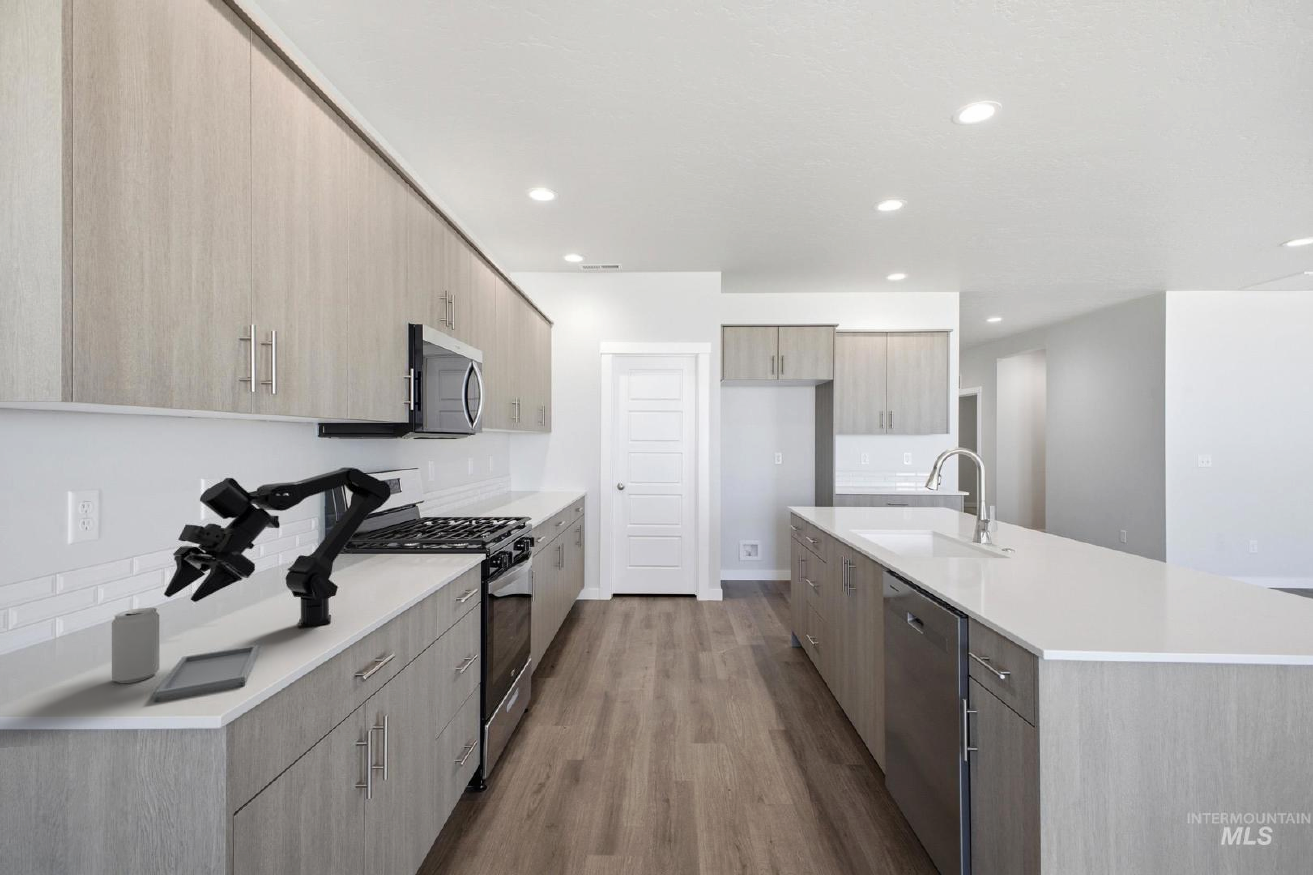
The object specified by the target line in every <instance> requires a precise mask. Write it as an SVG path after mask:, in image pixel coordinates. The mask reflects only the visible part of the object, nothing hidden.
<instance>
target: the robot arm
mask: <svg viewBox="0 0 1313 875" xmlns="http://www.w3.org/2000/svg"><path fill="white" fill-rule="evenodd" d="M341 487H345V488H346V489H347V490H348V491H349V492H350V493H352V494H351V497H350V504H349V506H348V508H347V509H346V510H345V512H344V513H343V514H342V515H341V517H340V518H339V519H338V521H337V522H336V523H335V524H334V525H333V527H332V529H331V530H330V531H329V532H328V534H327V535H326V536H325V537H324V539H322V541H321V543H320V544H319V545H318V547H317V548H316V549H315V550H314V551H313V552H312V553H311V554H309V555H299V556H297V557H296V559H295V561H294V563H293V564H292V565H291V566H290V567H288V568H287V569H286V570H287V571H288V573H286V575H285V584H286V587H287V588H288V590H290V592H291V594H292V596H293V598H294V597H295V598H300V619H299V621H298V622H297V623H298V624H297V628H298V629H301V628H307V627H315V626H321V625H322V626H323V625H329V624H331V623H332V615H331V614H330V603H329V602H330V598H331V597H335V596H336V595H337V592H338V589H339V587H338V585H337V584H336V583H334V582H333V581H332V580H330V578H331V575H332V574H333V573H332V572H333V566H334V562H335V560H336V559H337V558H338V556H340V554H341V552H342V551H343V549H345V547H346V545H347V544H348V543H349V541H350V540H351V539H352V537H353V536H354V534H355V533H356V532H357V530H358V529H359V528H360V526H361V525H362V524H363V523H364V521H365V519H366V518H367V517H368V516H369V515H370V514H372V513H373V512H375V511H376V510H378V509H379V508H381V507H382V506H383V505H384V504H386V502H387V501H389V499H390V498H391V495H392V492H391V487H390V484H389V483H388V482H386V481H385V480H380V479H378V478H377V477H374V476H372V475H369V474H367V473H365V472H363V471H362V470H360V469H359V468H357V467H351V466H350V467H346V466H345V467H341V468H339V469H336V470H332V471H330V472H326V473H325V472H324V473H322V474H319V475H314V476H311V477H308V478H305V479H302V480H301V479H300V480H297V481H291V482H277V483H269V484H268V483H267V484H263V485H260V486H259V487H257V488H256V490H253V491H247V489H245V488H244V487H242V486H241V485H240V483H239V482H238V481H237V480H236V479H235V478H233V477H226V478H224V479H223V481H220V482H217V483H216V484H214V485H213V486H211V487H209V488H207V489H206V490H204V491H203V493H202V494H201V495H200V498H199V502H201V503H202V504H203V505H205V507H207V508H208V509H210V510H211V512H213V513H215V514H216V515H217V516H219V517H220V518H221V519H222V520H228V519H233V520H232V521H231V522H229V523H228V525H226V527H222V525H220V524H216V523H211V522H210V523H208V524H206V525H205V526H202V525H196V524H185V526H184V527H183V529H182V531H181V533H180V535H179V538H178V539H177V540H178V541H181V542H189V543H192V544H197V545H198V546H195V545H194V546H193V545H185V546H179V548H178V549H176V550H175V551H174V552H173V553H172V555H173V556H174V561H175V563H176V570H175V572H174V573H173V576H172V578H171V580H170V581H169V584H168V586H167V587H166V589H165V591H164V593H163V595H164V596H165V597H167V598H171V597H173V596H174V595H176V594H177V593H179V592H180V591H182V590H184V589H185V588H186V587H188V586H190V585H191V584H193V583H195V582H196V581H197V580H199V579H200V578H202V577H203V576H206V572H207V571H209V573H208V575H207V576H206V577H205V578H204V580H203V581H202V582H201V583H200V585H199V586H198V588H197V589H196V590H195V591H194V593H193V594H192V595H191V598H190V600H191V601H192V602H195V603H196V602H199V601H201V600H203V599H205V598H206V597H209V596H211V595H212V594H214V593H216V592H218V591H220V590H223V588H224V589H225V588H226V587H229V586H231V585H232V584H234V583H236V582H240V581H242V580H243V578H245V579H249V578H250V577H251V575H252V574H253V573H254V572H255V571H256V563H254V561H252V560H250V559H249V558H247V556H245V555H244V554H243V553H245V551H246V550H252V549H253V548H254V547H255V544H254V543H253V542H254V541H255V540H256V539H257V537H259V536H260V534H261V533H262V532H263V531H264V530H265V529H266V528H269V529H279V528H280V527H281V526H280V521H279V515H273V514H270V513H269V512H268V511H279V512H282V511H286V510H290V509H291V508H293V507H294V506H297V505H299V504H301V502H303V501H304V500H305V499H307V498H309V497H311V496H312V497H313V496H315V495H318V494H321V493H324V492H329V491H331V490H334V489H335V490H336V489H337V488H341ZM256 506H257V507H256Z"/></svg>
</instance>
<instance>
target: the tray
mask: <svg viewBox="0 0 1313 875" xmlns="http://www.w3.org/2000/svg"><path fill="white" fill-rule="evenodd" d="M259 655H260V645H259V644H256V645H250V646H244V647H238V648H231V649H230V648H229V649H224V650H217V651H212V652H211V651H210V652H205V653H204V652H203V653H198V654H192V655H185V656H182V657H181V659H179V661H178V662H177V663H176V664H175V666H174V667H173V668H172V670H171V671H170V672H169V673H168V675H167V676H166V678H165V679H164V680H163V681H162V683H161V684H160V685H159V687H157V689H156V690H155V691H154V703H158V702H163V701H169V700H174V699H178V698H179V699H180V698H184V697H185V698H187V697H191V696H197V695H201V694H208V693H213V692H219V691H224V690H230V689H234V688H239V687H240V688H241V687H246V684H247V682H248V679H249V677H250V675H251V673H252V670H253V668H254V666H255V663H256V661H257V659H258V656H259Z"/></svg>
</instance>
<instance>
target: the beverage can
mask: <svg viewBox="0 0 1313 875" xmlns="http://www.w3.org/2000/svg"><path fill="white" fill-rule="evenodd" d="M160 655H161V654H160V613H158V610H157V608H156V607H141V608H136V609H135V608H133V609H129V610H124V611H121V612H118V613H116V614H114V619H113V620H112V622H111V679H112V680H113V681H114V682H117V683H118V684H131V683H136V682H141V681H143V680H146V678H147V679H149V678H152V677H153V676H154V675H155V674H156V673H157V672H158V671H160V667H161V666H160V662H161V661H160V660H161V659H160Z"/></svg>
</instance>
